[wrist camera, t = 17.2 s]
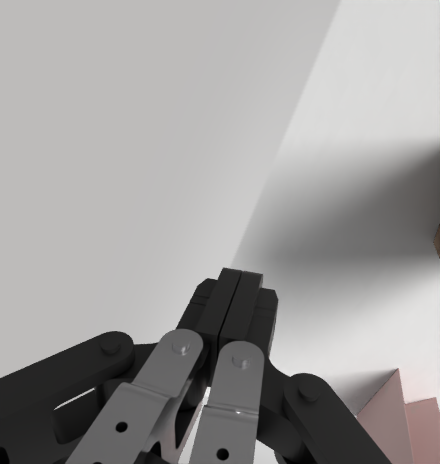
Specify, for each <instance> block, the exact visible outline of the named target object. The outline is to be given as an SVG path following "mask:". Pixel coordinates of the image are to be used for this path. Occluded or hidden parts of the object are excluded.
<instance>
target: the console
mask: <svg viewBox="0 0 440 464" xmlns="http://www.w3.org/2000/svg"><path fill="white" fill-rule="evenodd" d="M433 243H434V246H435V248H436V251H437V253H438V256H439V258H440V224H439V227H438V230H437V233H436V236H435V239H434V242H433Z"/></svg>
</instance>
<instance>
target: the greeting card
mask: <svg viewBox="0 0 440 464" xmlns="http://www.w3.org/2000/svg"><path fill="white" fill-rule="evenodd" d="M357 421H358V422H359V423H360V424H361V426H362V427H363V428H364V429H365V430H366V432H367V433H368V434H369V435H370V437H371V438H372V439H373V440H374V442H375V443H376V444H377V445H378V447H379V448H380V449H381V450H382V452H383V453H384V454H385V455H386V457H387V458H388V459H389V460H390V462H391V463H392V464H440V412H439V408H438V404H437V400H436V398H431V399H427V400H422V401H418V402H414V403H409V404H404V398H403V392H402V386H401V380H400V374H399V368H398V369H397V370H396V372H395V373H394V374H393V375H392V376H391V377H390V378H389V379H388V381H387V382H386V383H385V384H384V385H383V386H382V387H381V389H380V390H379V391H378V392H377V393H376V394H375V395H374V396H373V398H372V399H371V400H370V401H369V402H368V403H367V404H366V405H365V407H364V408H363V409H362V410H361V411H360V412H359V413H358V415H357Z"/></svg>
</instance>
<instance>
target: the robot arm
mask: <svg viewBox="0 0 440 464" xmlns="http://www.w3.org/2000/svg"><path fill="white" fill-rule="evenodd" d="M262 283H263V274H259V273H253V272H247V271H241V270H235V269H229V268H223V269H222V271H221V273H220V275H219V278H218V280H215V279H209V278H207V279H206V280H204V281H203V282H202V283H201V284H199V285H198V286H197V288H196V290H195V292H194V294H193V296H192V298H191V300H190V303H189V304H188V306H187V308H186V310H185V312H184V314H183V316H182V318H181V319H180V321H179V324H178V326H177V327H176V329H175V330H172V331H170V332H168V333H166V334H165V335H164V336H163V337H162V338H161V340H160V341H159V342H158V343H153V344H136V345H134V344H133V340H132V338H131V337H130V336H129V335H127V334H126V333H123V332H118V331H112V332H106V333H103V334H101V335H99V336H96V337H94V338H92V339H89V340H87V341H85V342H82V343H80V344H78V345H76V346H73V347H71V348H69V349H66V350H64V351H62V352H59V353H57V354H55V355H53V356H50V357H48V358H46V359H44V360H41V361H39V362H36V363H34V364H32V365H30V366H27V367H25V368H23V369H21V370H18V371H16V372H14V373H11V374H9V375H7V376H5V377H2V378H0V464H178V461H179V458H180V455H181V453H182V451H183V448H184V446H185V444H186V441H187V439H188V437H189V435H190V432H191V430H192V428H193V425H194V423H195V421H196V419H197V417H198V414H199V412H200V410H201V407H202V399H203V397H204V394H205V391H206V388H207V387H211V390H210V394H209V398H208V402H207V405H204V407H203V409H202V413H201V417H200V421H199V425H198V429H197V433H196V437H195V441H194V445H193V449H192V453H191V457H190V461H189V464H253V460H254V451H255V442H256V439H257V440H259V441H260V442H262V443H263V444H265V445H266V446H268V447H270V448H271V449H273V450H274V454H275V457H276V460H277V462H278V463H279V464H392V463H391V462H390V460H389V459H388V458H387V457H386V455H385V454H384V453H383V452H382V450H381V449H380V448H379V447H378V445H377V444H376V443H375V442H374V440H373V439H372V438H371V437H370V435H369V434H368V433H367V432H366V430H365V429H364V428H363V427H362V426H361V424H360V423H359V422H358V421H357V419H356V418H355V417H354V416H353V414H352V413H351V412H350V411H349V409H348V408H347V407H346V406H345V404H344V403H343V402H342V401H341V399H340V398H339V397H338V396H337V394H336V393H335V392H334V391H333V389H332V388H331V387H330V386H329V385H328V384H327V382H325V381H324V380H323V379H321V378H320V377H318V376H316V375H313V374H308V373H299V374H295V375H293V376H291V377H289V376H287V375H285V374H283V373H282V372H280V371H279V370H277V369H276V368H275V367H274V366H273V365H272V363H271V362H270V360H269V355H270V350H271V346H272V341H273V336H274V330H275V323H276V315H277V307H278V298H277V295H276V293H275V290H271V289H266V288H262ZM92 388H94V389H95V390H93V391H91V392H89V393H87V394H85V395H83V396H81V397H79V398H77V399H75V400H73V401H71V402H69V403H67V404H65V405H63V406H61V407H60V408H58V409H55V408H56V407H57V406H59V405H60V404H62V403H64V402H66V401H68V400H70V399H72V398H74V397H76V396H78V395H80V394H82V393H84V392H86V391H88V390H90V389H92ZM54 409H55V410H54Z"/></svg>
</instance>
